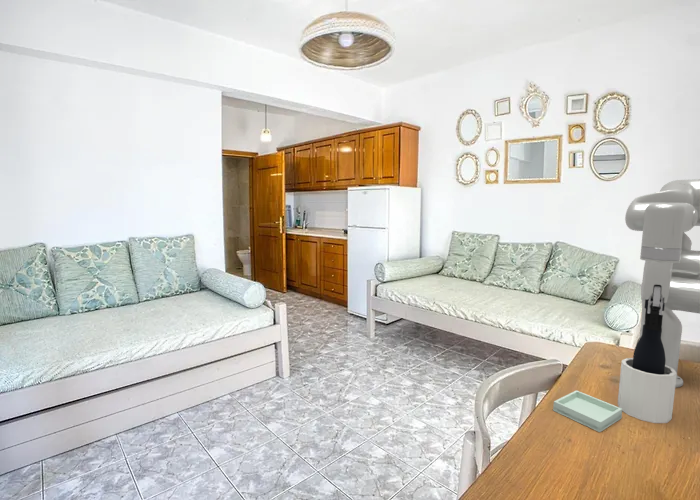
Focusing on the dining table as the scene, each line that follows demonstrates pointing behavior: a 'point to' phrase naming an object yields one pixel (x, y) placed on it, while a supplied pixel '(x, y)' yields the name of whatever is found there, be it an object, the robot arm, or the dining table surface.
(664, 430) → the dining table surface
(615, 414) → the sage tray
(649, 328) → the robot arm
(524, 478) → the dining table surface
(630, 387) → the wine cooler
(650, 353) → the wine bottle
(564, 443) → the dining table surface
